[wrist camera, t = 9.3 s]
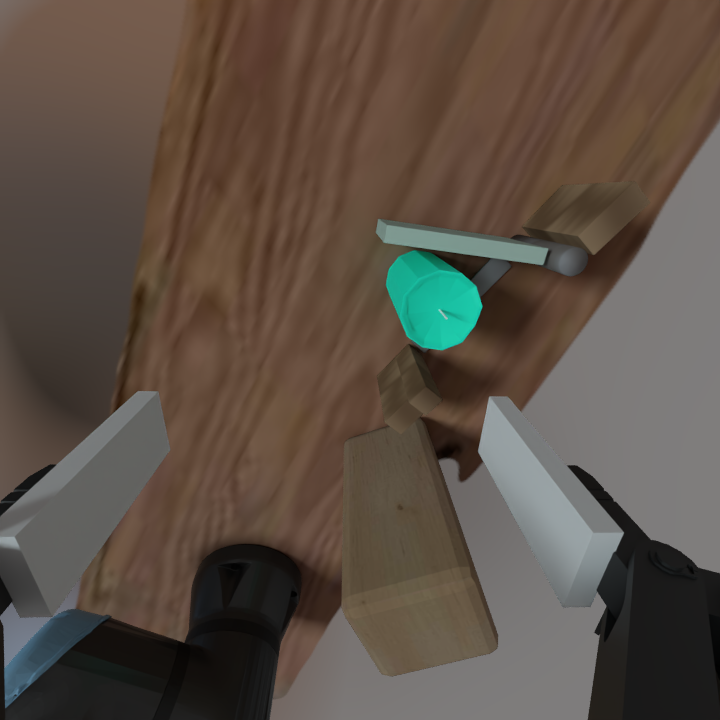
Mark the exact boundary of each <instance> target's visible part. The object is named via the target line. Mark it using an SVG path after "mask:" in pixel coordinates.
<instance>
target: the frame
mask: <svg viewBox="0 0 720 720" xmlns="http://www.w3.org/2000/svg"><path fill="white" fill-rule="evenodd" d="M649 203H650V201H649V200H648V198H647V197H646V196H645V194H644V193H643V192H642V190H641V189H640V188H639V186H638V185H637V183H636V182H635V181H631V182H613V183H595V184H577V185H562V186H561V187H560V188H559V189H558V190H557V191H556V192H555V193H554V194H553V195H552V196H551V197H550V198H549V199H548V200H547V201H546V202H545V203H544V204H543V206H542V207H541V208H540V209H539V210H538V211H537V212H536V213H535V214H534V215H533V216H532V217H531V218H530V219H529V220H528V221H527V222H526V223H525V224H524V225H523V226H522V227H523V228H524V229H525V231H526V232H527V233H528V234H529V235H530V236H531V237H528V236H524V235H515V236H513V237H512V238H511V239H513V240H517V241H521V242H525V243H529V244H533V245H537V246H541V247H544V248H548V252H547V255H546V258H545V261H544V264H543V265H539V266H541V267H544V268H547V269H550V270H552V271H555V272H558V273H561V274H564V275H566V276H575V275H577V274H579V273H581V272H582V271H583V270H584V268H585V267H586V265H587V262H588V255H587V254H592V255H595V254H596V253H597V252H598V251H599V250H600V249H601V248H602V247H603V246H604V245H605V244H606V243H608V242H609V241H610V240H611V239H612V238H613V237H614V236H615V235H616V234H617V233H618V232H619V231H620V230H621V229H623V228H624V227H625V226H626V225H627V224H628V223H629V222H630V221H631V220H632V219H633V218H634V217H635V216H637V215H638V214H639V213H640V212H641V211H642V210H643V209H644V208H645V207H646V206H647V205H648V204H649ZM536 265H538V264H536ZM510 267H511V265H510V264H509V263H508V262H507V261H506V260H503V259H496V258H491V259H490V260H489V261H488V262H487V263H486V264H485V265H484V266H483V267H482V268H481V269H480V270H479V271H478V273H477V274H476V275H475V276H474V277H473V278H472V279H471V280H470V281H471V282H472V283H473V284H474V285H476V287H477V290H478V293H479V297H481V296H482V295H483V294H484V293H485V292H486V291H487V290H488V289H489V288H490V287H491V286H492V285H493V284H494V283H495V282H496V281H497V280H498V279H499V278H500V277H501V276H502V275H503V274H504V273H505V272H506V271H507V270H508V269H509V268H510ZM411 342H412V343H413V344H414V345H416V346H417V347H418V348H419V349H420V350H422V351H423V352H424V353H425V352H426V351H427V350H428V349H429V348H423V347H421V346H420V345H418V344H417V343H415V342H414V341H413V340H412V341H411ZM377 379H378V385H379V391H380V397H381V403H382V410H383V416H384V422H385V423H386V424H387V425H389V426H390V427H391V428H393V429H394V430H396V431H397V432H398V433H400V434H402V433H403V432H404V431H405V430H407V429H408V428H409V427H410V426H411V425H412V424H413V423H414V422H415V421H416V420H417V419H418V418H419V417H421V416H422V415H423V414H424V415H427V414H428V413H429V412H430V411H432V410H433V409H434V408H435V407H436V406H437V405H438V404H439V403H440V402H441V401H442V400H443V399H442V397H441V395H440V393H439V391H438V389H437V387H436V384H435V382H434V380H433V378H432V376H431V374H430V372H429V369H428V367H427V365H426V363H425V361H424V359H423V357H422V355H421V354H420V353H419V352H418V351H416V350H415V349H414V348H413V347H412V346H410V345H409V344H408V345H407V346H406V347H405V348H404V349H403V350H402V351H401V352H400V353H399V354H398V355H397V356H396V357H395V358H394V359H393V360H392V361H391V362H390V363H389V364H388V365H387V366H386V367H385V368H384V369H383V370H382V371H381V372H380V373H379V375H378V376H377Z"/></svg>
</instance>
